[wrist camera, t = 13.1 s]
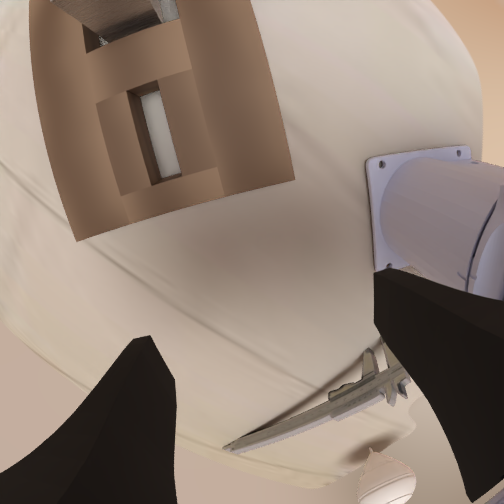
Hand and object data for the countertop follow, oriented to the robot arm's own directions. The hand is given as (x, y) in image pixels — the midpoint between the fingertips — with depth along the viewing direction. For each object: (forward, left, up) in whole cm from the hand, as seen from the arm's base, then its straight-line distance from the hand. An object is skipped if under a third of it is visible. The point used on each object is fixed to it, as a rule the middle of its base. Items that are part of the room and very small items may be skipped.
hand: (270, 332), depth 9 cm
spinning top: (-9, +33, -10) cm, 36 cm away
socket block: (+3, -11, -9) cm, 15 cm away
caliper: (-1, +17, -10) cm, 20 cm away
